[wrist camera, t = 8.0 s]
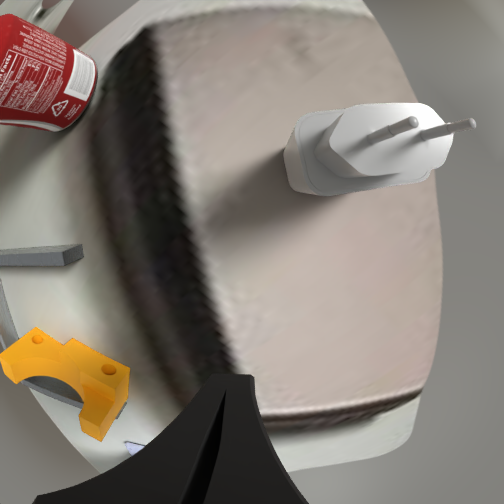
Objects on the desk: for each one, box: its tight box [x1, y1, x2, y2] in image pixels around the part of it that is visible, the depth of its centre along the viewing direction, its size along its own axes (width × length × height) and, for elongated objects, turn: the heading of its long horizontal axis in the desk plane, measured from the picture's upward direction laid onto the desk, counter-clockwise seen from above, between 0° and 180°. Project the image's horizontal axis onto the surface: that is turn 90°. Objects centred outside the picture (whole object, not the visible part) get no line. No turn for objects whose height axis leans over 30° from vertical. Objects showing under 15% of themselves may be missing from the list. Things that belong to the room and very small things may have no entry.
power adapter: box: [283, 103, 476, 196], centre depth 10 cm, size 3×5×12 cm, turn 102°
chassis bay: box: [0, 244, 127, 419], centre depth 19 cm, size 16×16×2 cm
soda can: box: [0, 14, 98, 132], centre depth 9 cm, size 7×7×12 cm
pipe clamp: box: [0, 327, 130, 442], centre depth 18 cm, size 12×4×6 cm, turn 71°
